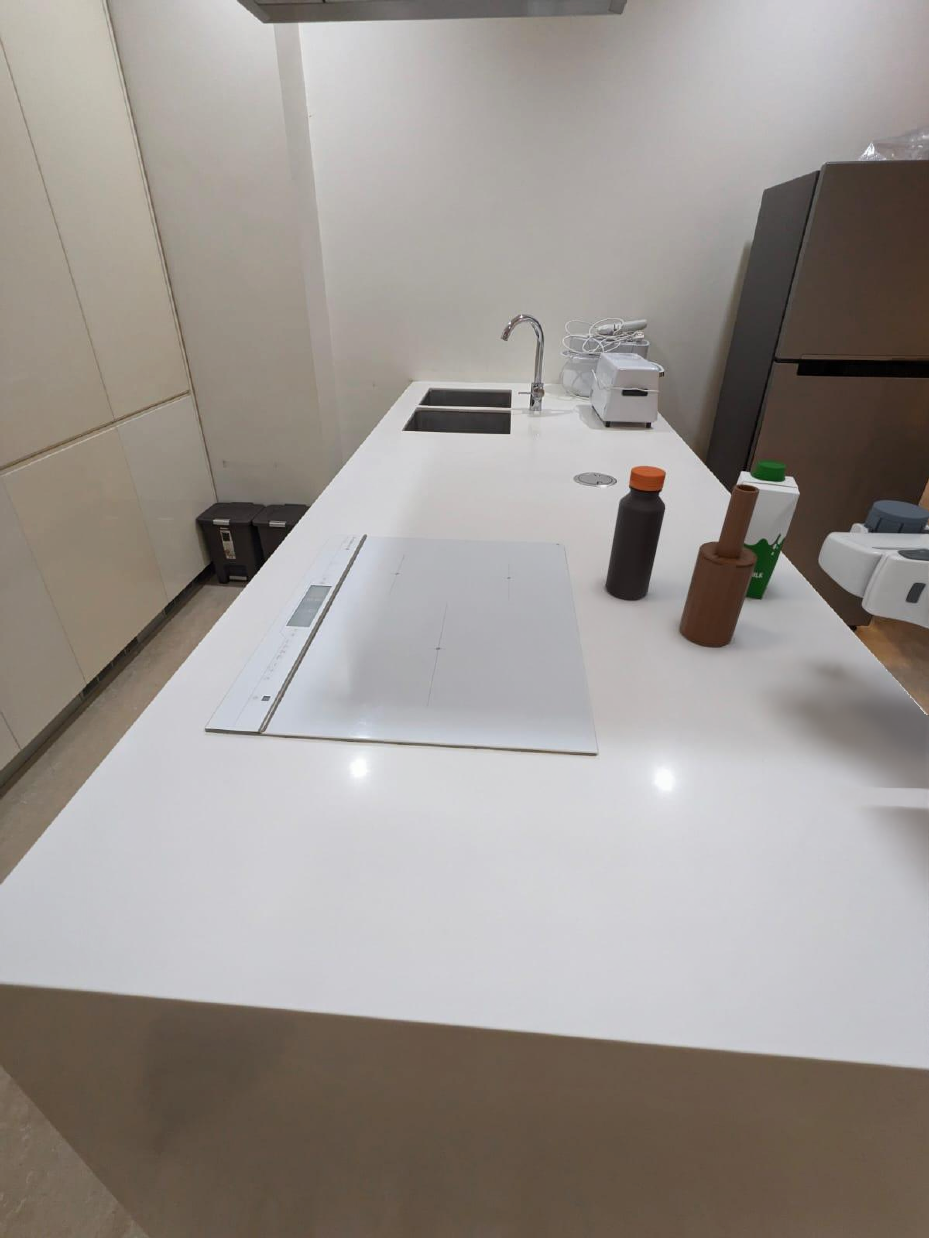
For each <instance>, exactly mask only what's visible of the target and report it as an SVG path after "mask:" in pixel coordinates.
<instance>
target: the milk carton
mask: <svg viewBox="0 0 929 1238" xmlns="http://www.w3.org/2000/svg"><path fill="white" fill-rule="evenodd" d="M786 469H787V465H786V464H785V463H783V462H780V461H777V460H776V461H775V460H769V459H767V460H766V459H764V460H758V461H757V464H756V466H755V470H754V471H743V470H742V471H740V474H739V476H738V479H737V482H736V485H738V484H746V485H752V486H754V487H757V488H758V489H760V491H759V495H758V498H757V501H756V505H755V508H754V511H753V515H752V518H751V521H750V524H749V528H748V531H747V534H746V538H745V541H744V544H743V546H744V547H746V548H748V549H750V550H752V551H753V552H754V553H755V554H756V556H757V562H756V565H755V568H754V571H753V575H752V578H751V581H750V584H749V587H748V590H747V593H746V596H745V597H748V598H754V599H760V600H761V599H762V600H763V596H764V594H765V592H766V590H767V587H768V584H769V582H770V580H771V579H772V575H773V573H774V571H775V568H776V566H777V563H778V561H779V558H780V555H781V552H782V549H783V546H784V543H785V540H786V537H787V534H788V531H789V530H790V529H789V528H790V526H791V522H792V519H793V516H794V513H795V511H796V507H797V503H798V500H799V497H800V495H801V493H800V491H799V486H798V484H797V482H796V481H795V478H794V477H793V476H786V475H785V472H786Z"/></svg>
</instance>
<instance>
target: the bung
mask: <svg viewBox="0 0 929 1238" xmlns="http://www.w3.org/2000/svg"><path fill="white" fill-rule="evenodd" d="M928 522H929V511H928V510H927V509H925V508H924V507H921V506H919V505H916V504H913V503H909V502H905V501H899V500H892V499H891V500H889V499H883V500H877V501H875V502H874V503H873V504H872V507H871V509H869V511H868V514H867V516H866V518H865V521H864V523H863V524H868V525H869V526H871V527H873V528H874V531H873V533H901V534H922V533H923V531H924V529H925V527H926V525H928Z"/></svg>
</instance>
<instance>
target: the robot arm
mask: <svg viewBox="0 0 929 1238" xmlns="http://www.w3.org/2000/svg"><path fill="white" fill-rule="evenodd" d="M873 531H874V528H873V527H871V526H869V525H868V524H864V523H853V524H852V526H851V529H850V530H849V531H848V532H846V531H845V532H842V531H833V532H830V533H829V534H828V535H827V536H826V538H825V539H824V541H823V544H822V545H821V549H820V552H819V555H818V564H819V567H820V568H821V569H822V570H823V571H824V572H825V573H826V574H827V575H828V576H829V577H830V578H831V579H832V580H833V581H834V582H835V583H837V584H838V585H839V586H840V587H841V588H842V589H843V590H845V591H847V593H848V592H849V593H850V594H851V595H854V596H855V597H856V596H857V597H859V598H862V601H861V607H862V608H863V610H865V612H867V613H869V614H871V615H873V616H876V617H882V618H887V619H892V620H899V621H903V622H907V623H910V624H914V625H918V626H921V627H923V628H926V629H928V630H929V525H928V524H927V525H926V527H925V529H924V531H923V533H922V534H901V533H873Z"/></svg>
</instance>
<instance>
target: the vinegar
mask: <svg viewBox="0 0 929 1238" xmlns="http://www.w3.org/2000/svg"><path fill="white" fill-rule="evenodd" d="M666 475H667V472H666V471H665V470H664V469H662V468H659V467H656V466H652V465H651V466H650V465H637V466H634V467H632V468H631V470H630V475H629V481H628V488H629V492H628V493H627V494H626V495H624V496H623V497H621V499H620V500H619V502H618V508H617V514H616V520H615V526H614V532H613V538H612V545H611V551H610V556H609V562H608V569H607V574H606V575H607V576H606V580H605V589H606V591H607V592H608V593H609V594H610V595H612V596H613V597H616V598H619V599H622V600H639V599H642V598H644V597H646V595H647V594H648V591H649V587H650V583H651V578H652V574H653V568H654V562H655V559H656V554H657V549H658V546H659V545H658V544H659V540H660V536H661V530H662V527H663V526H662V525H663V522H664V518H665V517H664V516H665V511H666V503H665V502H664V500H663V499H662V498H661V496H660V493H662V491H663V488H664V484H665V480H666Z"/></svg>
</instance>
